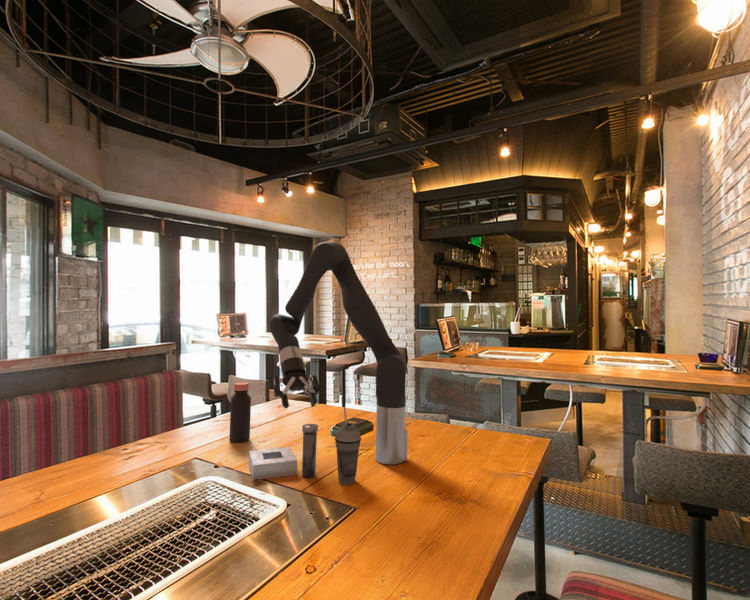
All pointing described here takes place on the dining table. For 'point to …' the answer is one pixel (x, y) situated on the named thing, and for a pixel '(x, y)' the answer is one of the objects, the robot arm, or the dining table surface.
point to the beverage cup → (347, 452)
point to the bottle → (240, 413)
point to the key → (309, 450)
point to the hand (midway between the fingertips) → (300, 406)
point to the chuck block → (272, 463)
